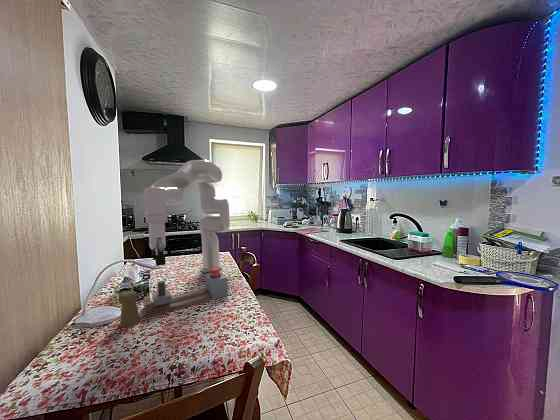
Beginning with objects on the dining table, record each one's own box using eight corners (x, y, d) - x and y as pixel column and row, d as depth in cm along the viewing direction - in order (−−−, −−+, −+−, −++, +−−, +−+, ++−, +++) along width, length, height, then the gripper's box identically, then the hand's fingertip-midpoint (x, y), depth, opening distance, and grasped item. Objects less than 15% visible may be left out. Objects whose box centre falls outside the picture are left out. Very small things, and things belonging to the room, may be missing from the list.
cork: (118, 329, 79) (116, 297, 78) (121, 320, 84) (119, 291, 83) (139, 324, 82) (137, 293, 81) (140, 316, 87) (138, 287, 86)
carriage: (152, 301, 94) (151, 281, 94) (169, 297, 98) (167, 277, 97) (154, 308, 88) (153, 287, 88) (172, 303, 92) (170, 283, 91)
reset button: (208, 276, 106) (208, 268, 105) (219, 274, 108) (218, 266, 108) (211, 279, 101) (211, 271, 101) (222, 277, 104) (222, 269, 104)
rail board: (144, 306, 94) (143, 296, 94) (204, 291, 107) (203, 282, 107) (146, 317, 86) (145, 306, 85) (211, 299, 99) (210, 289, 99)
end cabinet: (205, 291, 108) (204, 274, 107) (220, 287, 112) (219, 271, 111) (212, 299, 99) (211, 281, 99) (227, 294, 103) (227, 277, 103)
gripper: (143, 218, 95) (146, 259, 96) (147, 221, 81) (150, 269, 82) (164, 216, 99) (166, 256, 101) (171, 219, 85) (173, 265, 86)
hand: (159, 262), depth 91 cm, fingers open, 9 cm apart
